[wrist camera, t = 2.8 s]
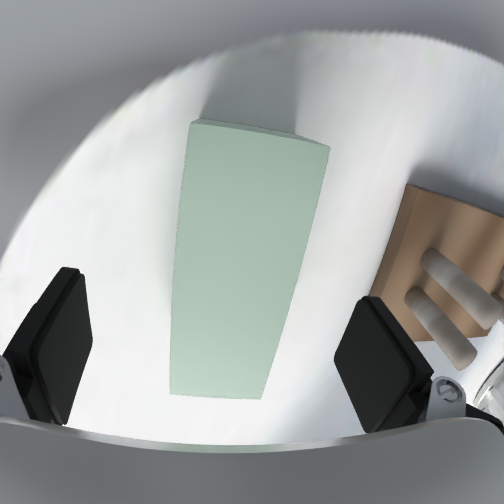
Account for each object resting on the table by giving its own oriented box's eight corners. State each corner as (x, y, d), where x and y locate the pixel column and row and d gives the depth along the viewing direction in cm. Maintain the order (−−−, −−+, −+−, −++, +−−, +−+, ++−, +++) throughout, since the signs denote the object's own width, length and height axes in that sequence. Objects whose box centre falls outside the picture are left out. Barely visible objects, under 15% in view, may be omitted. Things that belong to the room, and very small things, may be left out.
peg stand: (525, 225, 18) (586, 266, 12) (479, 328, 22) (524, 379, 16) (406, 183, 16) (498, 235, 9) (353, 331, 20) (398, 415, 13)
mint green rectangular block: (294, 134, 14) (330, 147, 10) (250, 336, 19) (260, 399, 15) (198, 118, 13) (190, 122, 9) (176, 329, 18) (169, 393, 14)
